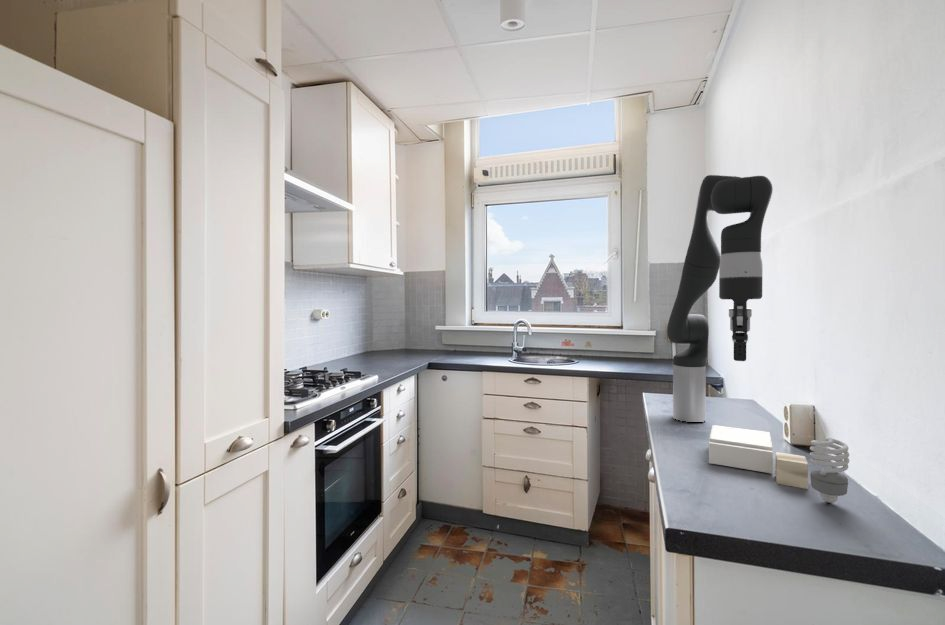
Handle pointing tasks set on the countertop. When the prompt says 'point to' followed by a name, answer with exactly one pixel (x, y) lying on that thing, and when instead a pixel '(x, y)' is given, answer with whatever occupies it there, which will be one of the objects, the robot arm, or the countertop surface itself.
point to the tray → (741, 457)
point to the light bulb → (829, 469)
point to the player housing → (741, 437)
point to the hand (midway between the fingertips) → (739, 360)
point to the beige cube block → (791, 470)
